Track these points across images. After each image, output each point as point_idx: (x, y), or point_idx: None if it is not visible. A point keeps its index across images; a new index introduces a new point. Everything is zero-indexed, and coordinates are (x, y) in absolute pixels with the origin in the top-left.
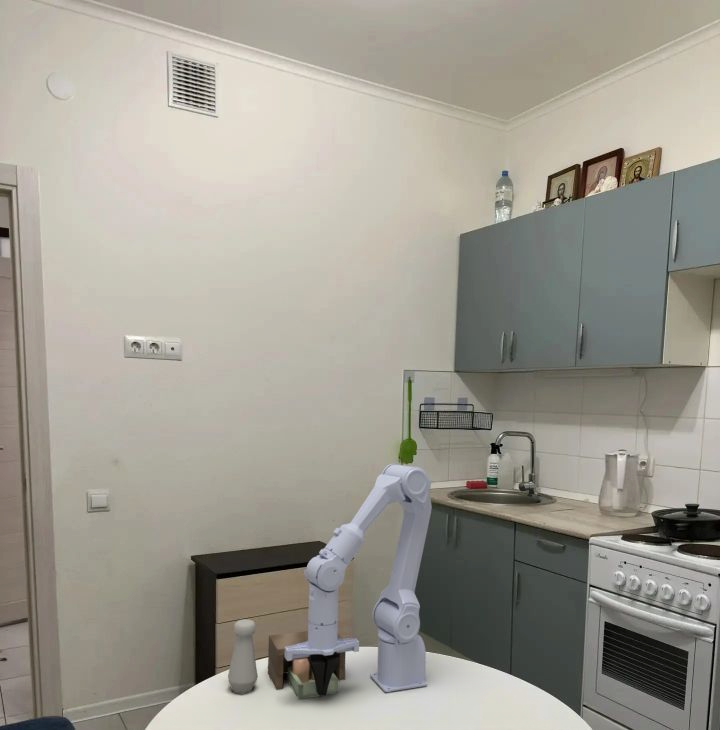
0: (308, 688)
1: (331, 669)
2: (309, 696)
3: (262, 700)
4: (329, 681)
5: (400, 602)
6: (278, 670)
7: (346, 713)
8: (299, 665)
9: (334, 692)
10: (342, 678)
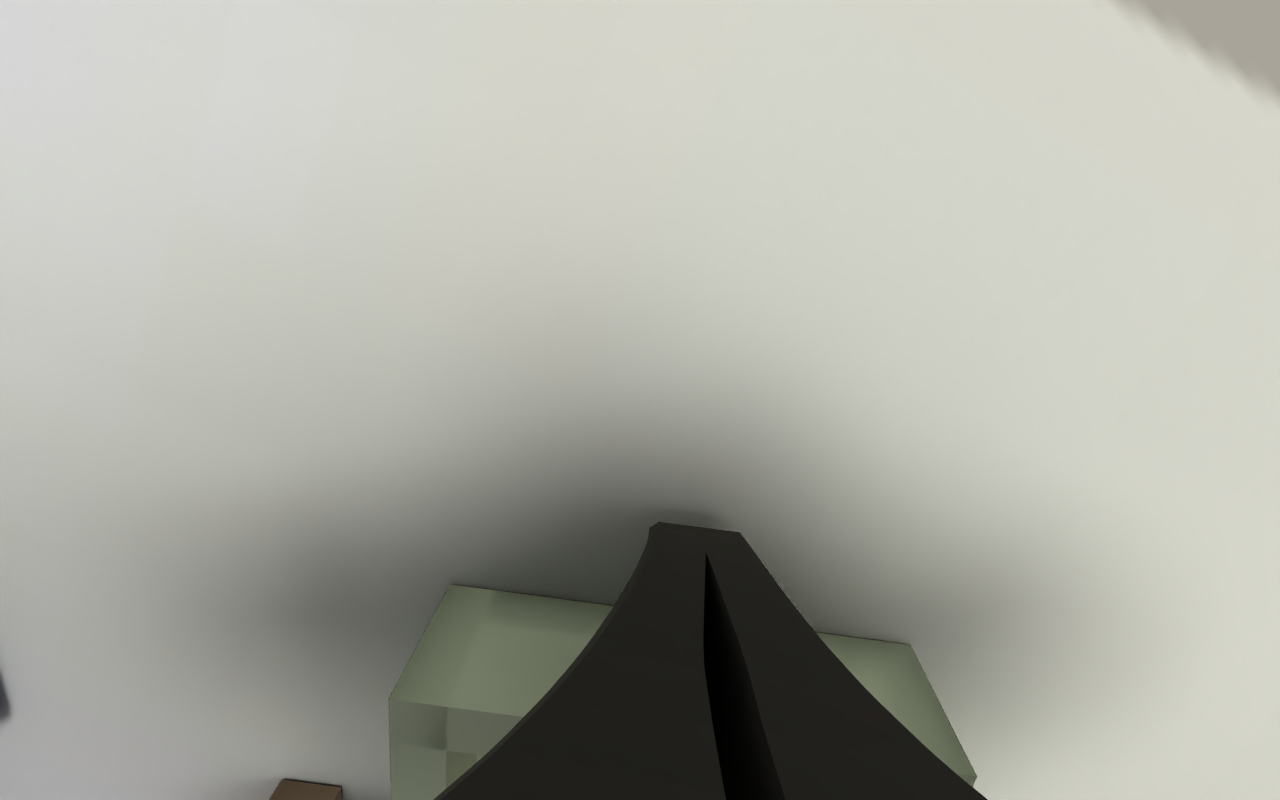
0: None
1: (565, 789)
2: None
3: (1241, 771)
4: (612, 613)
5: None
6: None
7: (558, 68)
8: None
9: (491, 598)
10: (301, 796)
